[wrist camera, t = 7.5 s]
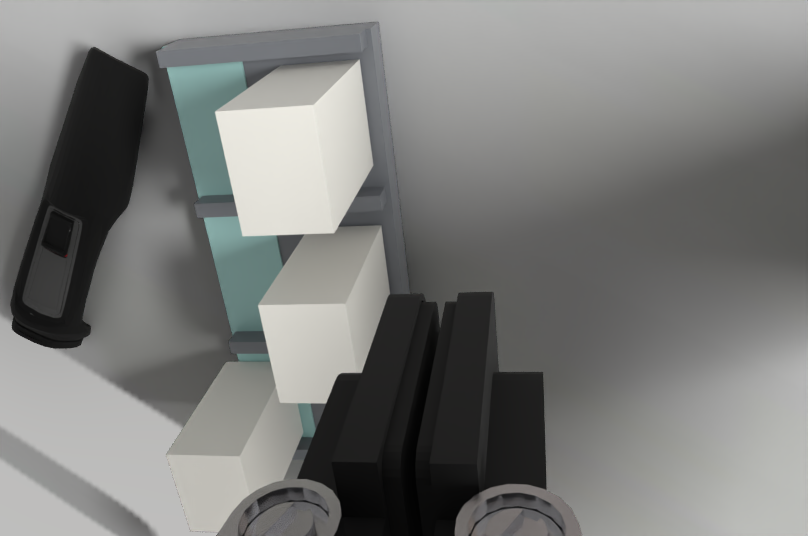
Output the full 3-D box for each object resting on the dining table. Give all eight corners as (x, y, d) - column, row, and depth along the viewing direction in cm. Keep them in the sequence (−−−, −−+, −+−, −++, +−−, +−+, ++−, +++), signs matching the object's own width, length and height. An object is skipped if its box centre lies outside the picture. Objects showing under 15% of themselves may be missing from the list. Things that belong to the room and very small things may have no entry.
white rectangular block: (381, 225, 29) (345, 303, 24) (392, 312, 31) (361, 403, 26) (308, 227, 30) (257, 304, 24) (324, 312, 32) (279, 403, 26)
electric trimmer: (186, 64, 30) (150, 81, 27) (92, 342, 37) (56, 378, 34) (101, 19, 30) (56, 31, 27) (23, 307, 37) (-19, 340, 34)
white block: (359, 59, 26) (313, 104, 21) (373, 165, 28) (334, 233, 23) (280, 65, 27) (214, 111, 22) (298, 169, 29) (242, 236, 23)
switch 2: (288, 361, 33) (239, 456, 28) (303, 431, 35) (260, 534, 29) (226, 361, 34) (165, 454, 28) (244, 431, 35) (190, 531, 30)
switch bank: (378, 21, 27) (364, 33, 25) (425, 427, 36) (418, 463, 34) (179, 39, 29) (150, 51, 27) (269, 424, 37) (253, 458, 35)
